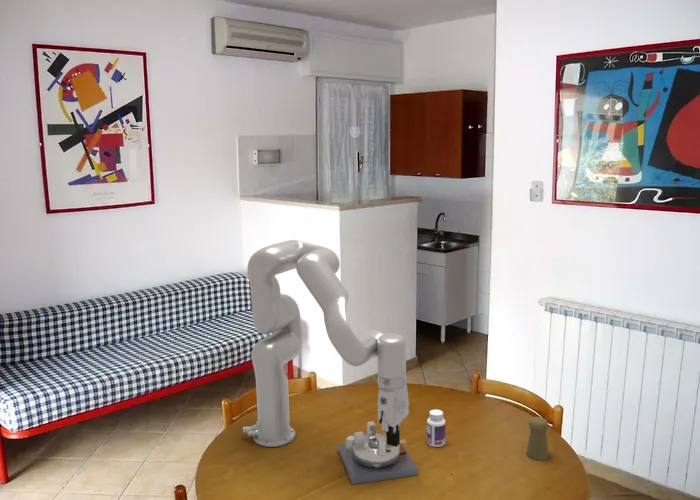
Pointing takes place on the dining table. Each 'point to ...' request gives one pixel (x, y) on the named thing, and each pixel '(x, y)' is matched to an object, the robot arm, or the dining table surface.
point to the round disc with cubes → (375, 448)
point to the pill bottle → (436, 428)
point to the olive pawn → (538, 439)
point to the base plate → (370, 474)
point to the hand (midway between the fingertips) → (393, 444)
